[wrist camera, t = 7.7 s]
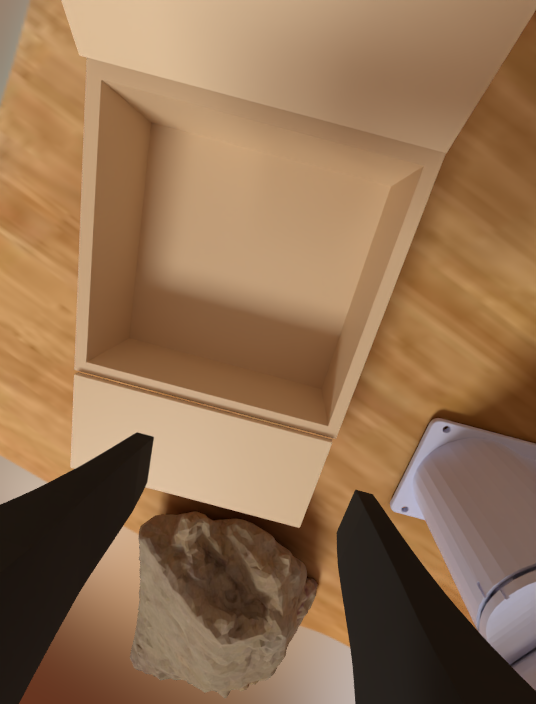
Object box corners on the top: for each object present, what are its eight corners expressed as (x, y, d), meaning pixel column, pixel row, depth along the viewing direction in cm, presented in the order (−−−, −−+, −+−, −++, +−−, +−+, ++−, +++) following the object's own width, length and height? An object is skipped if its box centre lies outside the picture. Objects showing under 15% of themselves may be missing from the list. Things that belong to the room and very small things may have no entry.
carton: (402, 179, 16) (449, 149, 11) (301, 466, 23) (302, 528, 18) (146, 111, 16) (81, 51, 11) (117, 418, 23) (67, 466, 18)
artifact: (336, 508, 25) (158, 469, 26) (349, 602, 18) (102, 542, 19) (293, 668, 30) (143, 629, 31) (290, 794, 22) (94, 738, 23)
